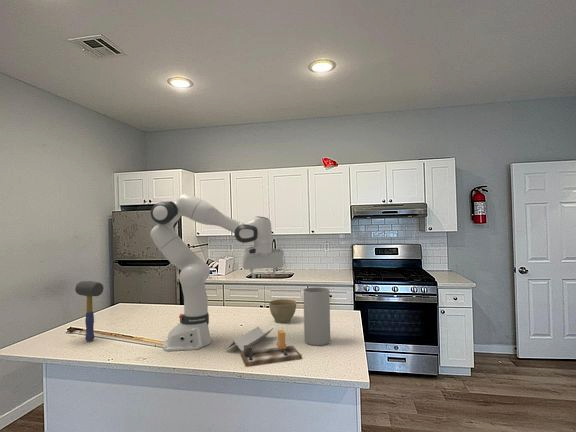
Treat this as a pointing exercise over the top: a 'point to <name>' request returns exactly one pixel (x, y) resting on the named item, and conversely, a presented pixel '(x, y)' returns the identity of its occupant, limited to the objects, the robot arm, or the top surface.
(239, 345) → the z bracket
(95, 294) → the rubber mallet
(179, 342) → the robot arm
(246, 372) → the top surface
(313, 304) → the cylinder vase
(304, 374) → the top surface
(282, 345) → the sliding jaw
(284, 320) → the planter bowl
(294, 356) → the gauge board
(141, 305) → the top surface
